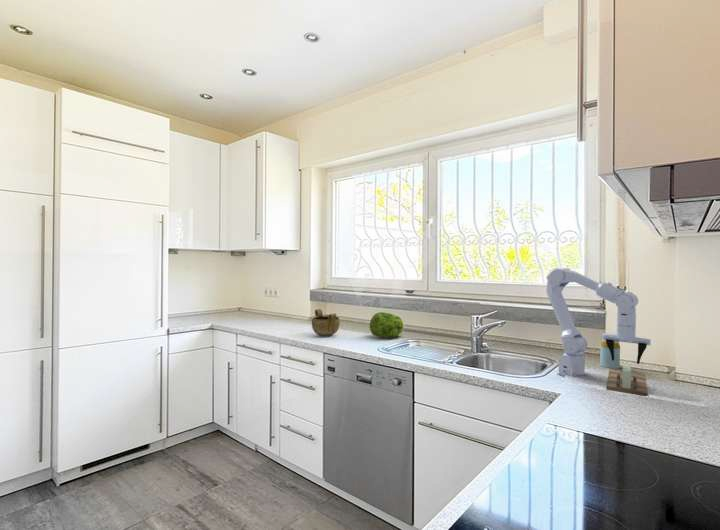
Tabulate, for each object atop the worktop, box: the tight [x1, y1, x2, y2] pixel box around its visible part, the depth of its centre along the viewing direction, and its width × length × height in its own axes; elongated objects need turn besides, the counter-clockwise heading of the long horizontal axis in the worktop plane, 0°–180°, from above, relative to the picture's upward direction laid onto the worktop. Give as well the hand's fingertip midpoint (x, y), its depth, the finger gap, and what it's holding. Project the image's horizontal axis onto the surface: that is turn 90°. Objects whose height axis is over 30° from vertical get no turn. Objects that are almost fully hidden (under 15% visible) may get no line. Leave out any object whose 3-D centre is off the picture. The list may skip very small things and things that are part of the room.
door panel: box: [622, 364, 632, 389], centre depth 141 cm, size 10×2×6 cm, turn 145°
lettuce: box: [369, 311, 405, 339], centre depth 230 cm, size 16×21×15 cm
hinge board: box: [605, 369, 649, 397], centre depth 146 cm, size 26×12×3 cm, turn 145°
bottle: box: [599, 332, 621, 370], centre depth 165 cm, size 7×7×15 cm
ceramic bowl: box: [311, 308, 341, 338], centre depth 234 cm, size 22×17×15 cm
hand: (625, 361), depth 142 cm, fingers open, 7 cm apart
